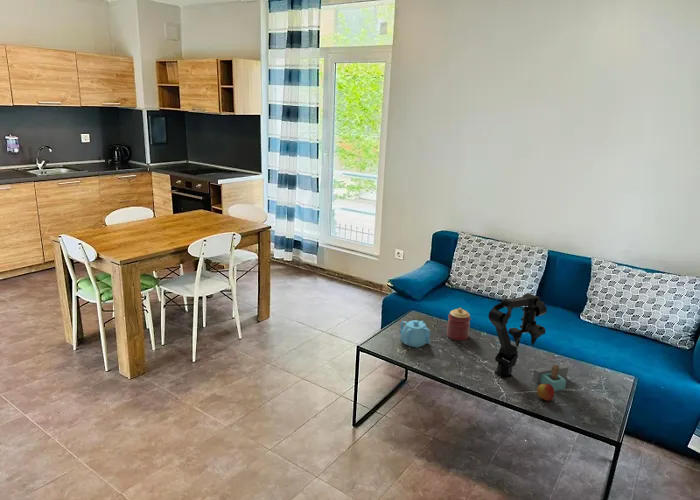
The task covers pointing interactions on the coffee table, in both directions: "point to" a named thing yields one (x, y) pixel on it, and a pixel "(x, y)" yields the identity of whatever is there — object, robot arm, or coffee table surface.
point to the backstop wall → (540, 371)
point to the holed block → (556, 384)
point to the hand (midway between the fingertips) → (524, 346)
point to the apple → (545, 392)
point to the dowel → (554, 372)
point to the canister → (458, 324)
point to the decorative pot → (415, 333)
